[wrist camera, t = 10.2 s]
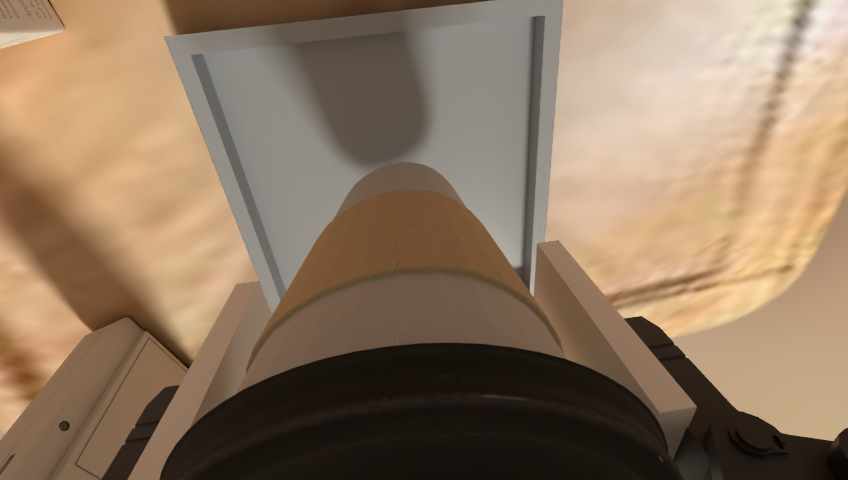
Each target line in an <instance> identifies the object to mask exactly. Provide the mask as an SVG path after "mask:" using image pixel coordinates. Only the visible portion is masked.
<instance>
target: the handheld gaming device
mask: <svg viewBox="0 0 848 480" xmlns="http://www.w3.org/2000/svg"><path fill="white" fill-rule="evenodd" d="M188 370H189V369H188V368H187V367H185V366H184V365H183V364H182V363H181V362H180V361H179V360H178V359H177V358H176V357H175V356H173V355H172V354H171V353H170V352H169V351H168V350H167V349H166V348H165V347H164V346H163V345H162V344H160V343H159V342H158V341H157V340H156V339H155V338H154V337H153V336H152V335H151V334H150V333H149V332H147V331H145V332H144V331H143V330H142V329H141V328H140V327H139V326H138V325H136V324H135V323H134V322H133V321H132V320H131V319H130V318H128V317H125V318H123V319H121V320H118V321H116V322H114V323H112V324H110V325H107V326H105V327H103V328H101V329H99V330H96V331H94V332H92V333H90V334H88V335H86V336H85V337H84V338H83V339H82V340H81V341H80V343H79V344H78V345H77V346H76V348H75V349H74V350H73V351H72V352H71V354H70V355H69V356H68V357H67V359H66V360H65V361H64V362H63V364H62V365H61V366H60V367H59V369H58V370H57V371H56V372H55V373H54V375H53V376H52V377H51V378H50V380H49V381H48V382H47V383H46V385H45V386H44V387H43V388H42V390H41V391H40V392H39V393H38V394H37V396H36V397H35V398H34V399H33V401H32V402H31V403H30V404H29V406H28V407H27V408H26V409H25V411H24V412H23V413H22V414H21V415H20V417H19V418H18V419H17V420H16V422H15V423H14V424H13V425H12V427H11V428H10V429H9V430H8V432H7V433H6V434H5V435H4V436H3V438H2V439H1V440H0V480H101V479H102V477H103V476H104V474H105V472H106V471H107V469H108V468H109V466H110V464H111V463H112V461H113V459H114V458H115V456H116V455H117V453H118V451H119V450H120V448H121V446H122V445H125V440H126V438H127V437H128V435H129V433H130V432H131V430H132V429H133V428H135V424H136V422H137V420H138V419H139V417H140V416H141V414H142V412H143V411H144V409H145V407H146V406H147V404H148V403H149V402H150V401H152V400H153V399H154V398H155V397H156V396H157V395H158V394H159V393H160V392H161V391H162V390H163V389H164V388H165V387H168V386H175V385H181V383H182V381H183V379H184V377H185V376H186V374H187V372H188Z"/></svg>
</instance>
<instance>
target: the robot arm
mask: <svg viewBox="0 0 848 480" xmlns="http://www.w3.org/2000/svg"><path fill="white" fill-rule="evenodd" d="M534 299H535V300H536V301H537V303H538V304H539V306H540V307H541V309H542V310H543V311H544V313H545V314H546V316H547V318H548V319H549V321H550V323H551V324H552V326H553V328H554V330H555V331H556V333H557V335H558V336H559V338H560V341H561V344H562V348H563V351H564V355H565V356H566V358H567V359H568V360H570V361H572V362H575V363H578V364H581V365H583V366H586V367H589V368H591V369H593V370H595V371H597V372H599V373H601V374H603V375H605V376H607V377H609V378H611V379H612V380H614V381H616V382H617V383H619V384H621V385H622V386H624V387H626V388H627V389H628V390H629V391H631V392H632V393H633V394H634V395H636V396H637V397H638V398H639V399H640V400H641V401H642V402H643V403H644V404H645V405H646V406H647V407H648V408H649V409H650V410H651V412H652V413H653V415H654V416H655V417H656V419H657V420H658V422H659V424H660V426H661V428H662V430H663V432H664V434H665V438H666V442H667V445H668V454H669V455H670V456H671V458H672V459H673V460H674V462H675V463H676V465H677V467H678V469H679V471H680V473H681V475H682V477H683V479H684V480H848V428H846V429H845V430H843V431H842V432H841V433H840V434H839V435H838V436H837V438H836V439H835V440H834V441H828V440H821V439H814V438H807V437H800V436H793V435H788V434H783V433H780V432H779V431H778V430H777V429H776V428H775V427H774V426H772V425H770V424H769V423H767V422H765V421H764V420H762V419H760V418H759V417H756V416H753V415H750V414H747V413H745V412H740V411H738V410H736V409H735V408H734V407H733V406H732V405H731V404H730V403H729V402H728V401H727V399H726V398H724V396H723V395H722V394H721V393H720V392H719V391H718V390H717V389H716V388H715V387H714V386H713V384H712V383H711V382H710V381H709V380H708V379H707V378H706V377H705V376H704V375H703V374H702V373H701V372H700V370H699V369H698V368H697V367H696V366H695V365H694V364H693V363H692V362H691V361H690V360H689V359H688V358H686V357H685V354H684V353H683V352H682V351H681V350H680V349H679V348H678V347H677V346H675V345H674V342H673V341H672V340H671V339H670V338H669V337H668V336H667V335H666V334H665V333H664V332H663V330H662V329H661V328H660V327H658V326H656V325H655V324H653V323H651V322H650V321H648V320H647V319H645V318H643V317H642V316H639V317H632V318H625V319H624V318H623V317H622V316H621V315H620V314H619V312H618V311H617V310H616V309H615V308H614V306H613V305H612V304H611V303H610V302H609V300H608V299H607V298H606V297H605V296H604V294H603V293H602V292H601V291H600V290H599V288H598V287H597V286H596V285H595V284H594V282H593V281H592V280H591V279H590V278H589V276H588V275H587V274H586V273H585V272H584V270H583V269H582V268H581V267H580V266H579V264H578V263H577V262H576V261H575V260H574V258H573V257H572V256H571V255H570V254H569V252H568V251H567V250H566V249H565V248H564V246H563V245H562V244H561V243H560V242H559V240H557V241H550V242H542V243H537V251H536V267H535V282H534ZM271 317H272V313H271V310H270V308H269V305H268V303H267V300H266V297H265V295H264V292H263V290H262V287H261V285H260V282H259V281H257V282H250V283H242V284H236V286H235V288H234V289H233V291H232V293H231V295H230V296H229V298H228V300H227V302H226V304H225V305H224V307H223V309H222V311H221V313H220V314H219V316H218V318H217V320H216V322H215V323H214V325H213V327H212V329H211V331H210V332H209V334H208V336H207V338H206V340H205V341H204V343H203V345H202V347H201V349H200V350H199V352H198V354H197V356H196V358H195V359H194V361H193V363H192V365H191V367H190V368H189V370H188V372H187V374H186V376H185V377H184V379H183V381H182V383H181V385H175V386H168V387H165V388H164V389H163V390H162V391H161V392H160V393H159V394H158V395H157V396H156V397H155V398H154V399H153V400H152V401H150V402H149V403H148V404H147V406H146V407H145V409H144V411H143V412H142V414H141V416H140V417H139V419H138V420H137V422H136V424H135V428H133V429H132V430H131V432H130V433H129V435H128V437H127V438H126V440H125V445H122V446H121V448H120V450H119V451H118V453H117V455H116V456H115V458H114V459H113V461H112V463H111V464H110V466H109V468H108V469H107V471H106V472H105V474H104V476H103V477H102V479H101V480H159V479H160V475H161V471H162V469H163V467H164V464H165V462H166V460H167V458H168V456H169V455H170V453H171V451H172V450H173V448H174V446H175V445H176V443H177V442H178V441H179V440H180V439H181V438H182V436H183V435H184V434H185V433H186V432H187V431H188V429H189V428H191V427H192V426H193V425H194V424H195V423H196V422H197V421H198V420H199V419H200V418H202V417H203V416H204V415H205V414H207V413H208V412H209V411H211V410H212V409H213V408H215V407H216V406H218V405H219V404H220V403H222V402H223V401H225V400H227V399H228V398H230V397H232V396H233V395H235V394H236V392H237V390H238V388H239V386H240V385H241V383H242V381H243V379H244V377H245V376H246V368H247V365H248V362H249V359H250V356H251V353H252V351H253V348H254V346H255V344H256V342H257V340H258V339H259V337H260V335H261V334H262V332H263V330H264V328H265V327H266V325H267V323H268V322H269V320H270V318H271Z"/></svg>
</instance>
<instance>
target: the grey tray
mask: <svg viewBox="0 0 848 480" xmlns="http://www.w3.org/2000/svg"><path fill="white" fill-rule="evenodd" d="M562 10H563V0H493V1H484V2H474V3H465V4H456V5H447V6H438V7H429V8H420V9H411V10H401V11H392V12H383V13H374V14H365V15H356V16H347V17H338V18H328V19H319V20H310V21H301V22H292V23H283V24H274V25H265V26H255V27H246V28H237V29H228V30H219V31H210V32H201V33H192V34H182V35H173V36H164V38H165V40H166V43H167V45H168V48H169V51H170V53H171V56H172V58H173V61H174V63H175V66H176V69H177V71H178V74H179V76H180V79H181V81H182V84H183V86H184V89H185V92H186V94H187V97H188V99H189V102H190V104H191V107H192V110H193V112H194V115H195V117H196V120H197V122H198V125H199V127H200V130H201V133H202V135H203V138H204V140H205V143H206V145H207V148H208V151H209V153H210V156H211V158H212V161H213V163H214V166H215V169H216V171H217V174H218V176H219V179H220V181H221V184H222V186H223V189H224V192H225V194H226V197H227V199H228V202H229V204H230V207H231V210H232V212H233V215H234V217H235V220H236V222H237V225H238V227H239V230H240V233H241V235H242V238H243V240H244V243H245V245H246V248H247V251H248V253H249V256H250V258H251V261H252V263H253V266H254V268H255V271H256V274H257V276H258V279H259V281H260V284H261V286H262V289H263V292H264V294H265V297H266V299H267V302H268V304H269V307H270V309H271V312H272V315H273V313H274V311H275V310H276V308H277V306H278V305H279V303H280V301H281V300H282V298H283V296H284V294H285V293H286V291H287V289H288V288H289V286H290V284H291V283H292V281H293V279H294V277H295V276H296V274H297V272H298V271H299V269H300V267H301V266H302V264H303V262H304V260H305V259H306V257H307V255H308V254H309V252H310V250H311V249H312V247H313V245H314V243H315V242H316V240H317V239H318V237H319V236H320V235H321V233H322V232H323V230H324V229H325V228H326V226H327V225H328V224H329V223H330V222H332V221H333V219H334V217H335V215H336V214H337V212H338V210H339V208H340V207H341V205H342V203H343V202H344V200H345V198H346V196H347V195H348V193H349V192H350V191H351V189H352V188H353V186H354V185H355V184H356V183H357V182H358V181H359V180H361V179H362V178H363V177H364V176H366V175H367V174H369V173H370V172H372V171H374V170H376V169H378V168H381V167H383V166H386V165H390V164H394V163H401V162H413V163H418V164H423V165H426V166H428V167H430V168H432V169H434V170H436V171H437V172H438V173H440V174H441V175H442V176H444V177H445V179H446V180H447V181H448V182H449V183H450V184H451V185H452V187H453V188H454V189H455V191H456V192H457V194H458V195H459V197H460V198H461V200H462V201H463V203H464V204H465V206H466V207H467V209H469V210H470V211H471V212H472V213H473V214H474V215H475V216H476V217H477V218H478V219H479V220H480V222H481V223H482V224H483V225H484V226H485V228H486V229H487V231H488V232H489V234H490V235H491V237H492V238H493V239H494V241H495V242H496V244H497V245H498V247H499V248H500V250H501V251H502V252H503V254H504V255H505V257H506V258H507V260H508V261H509V262H510V264H511V265H512V267H513V268H514V270H515V271H516V273H517V274H518V275H519V277H520V278H521V280H522V281H523V283H524V284H525V286H526V287H527V288H528V290H529V291H530V293H531V294H532V296H533V297H534V282H535V267H536V251H537V243H542V242H545V234H546V221H547V208H548V195H549V182H550V168H551V155H552V142H553V129H554V116H555V102H556V89H557V76H558V63H559V50H560V36H561V23H562Z"/></svg>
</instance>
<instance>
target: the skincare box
mask: <svg viewBox="0 0 848 480" xmlns="http://www.w3.org/2000/svg"><path fill="white" fill-rule="evenodd" d="M62 31H65V28H64V26H63V24H62V22H61V21H60V19H59V18H58V16H57V15H56V13H55V11H54V10H53V8H52V7H51V5H50V4H49V2H48V0H0V49H1V48H4V47H8V46H12V45H16V44H19V43H23V42H27V41H30V40H34V39H38V38H41V37H45V36H49V35H52V34H56V33H60V32H62Z"/></svg>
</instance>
